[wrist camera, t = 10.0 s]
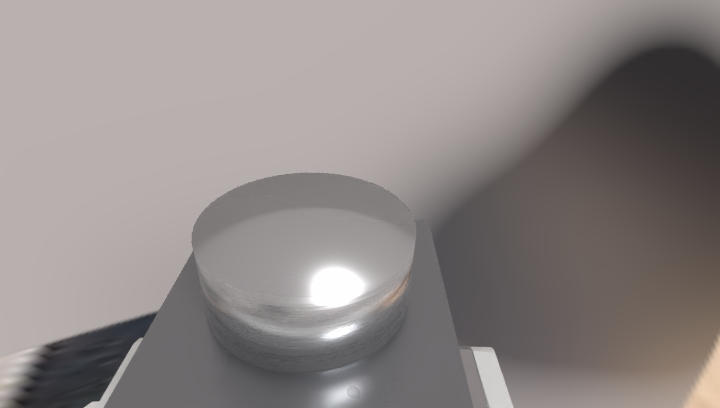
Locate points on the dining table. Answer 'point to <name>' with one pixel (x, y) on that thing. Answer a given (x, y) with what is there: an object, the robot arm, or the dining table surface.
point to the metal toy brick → (302, 307)
